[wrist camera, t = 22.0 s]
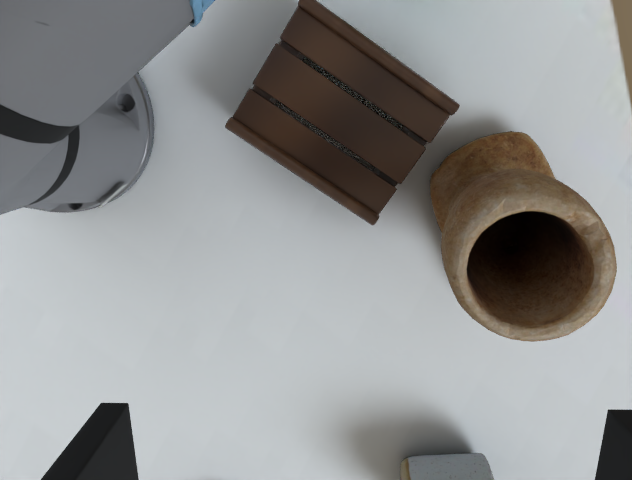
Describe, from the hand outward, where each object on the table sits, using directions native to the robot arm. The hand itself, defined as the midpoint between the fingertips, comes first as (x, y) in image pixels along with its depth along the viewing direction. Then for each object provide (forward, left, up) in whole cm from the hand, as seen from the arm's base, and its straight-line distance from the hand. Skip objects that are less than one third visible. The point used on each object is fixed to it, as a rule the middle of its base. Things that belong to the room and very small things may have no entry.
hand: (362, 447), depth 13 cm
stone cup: (+11, +6, -29) cm, 32 cm away
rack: (-5, +7, -29) cm, 30 cm away
